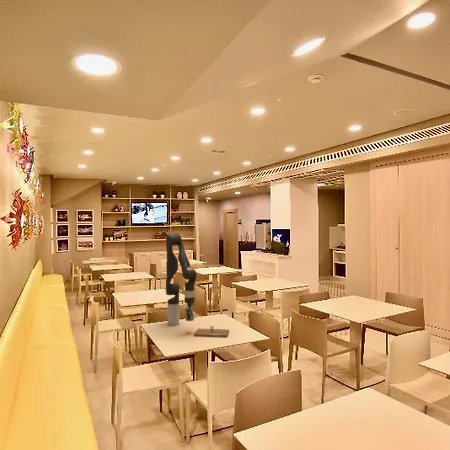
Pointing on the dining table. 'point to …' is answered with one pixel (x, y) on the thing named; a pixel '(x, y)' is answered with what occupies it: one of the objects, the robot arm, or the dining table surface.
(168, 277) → the robot arm
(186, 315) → the steel ring
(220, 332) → the post base
